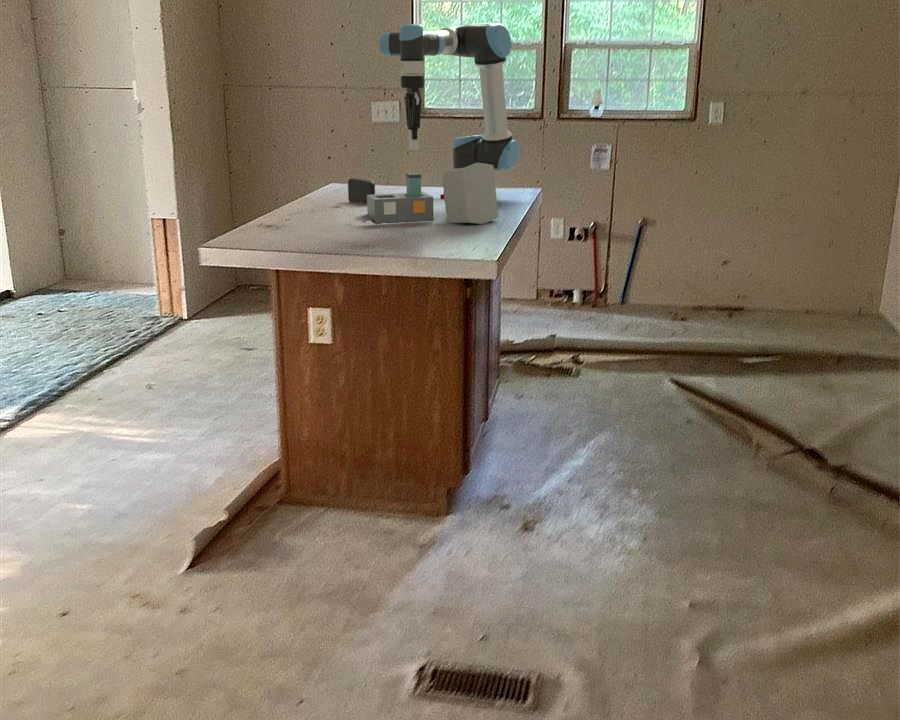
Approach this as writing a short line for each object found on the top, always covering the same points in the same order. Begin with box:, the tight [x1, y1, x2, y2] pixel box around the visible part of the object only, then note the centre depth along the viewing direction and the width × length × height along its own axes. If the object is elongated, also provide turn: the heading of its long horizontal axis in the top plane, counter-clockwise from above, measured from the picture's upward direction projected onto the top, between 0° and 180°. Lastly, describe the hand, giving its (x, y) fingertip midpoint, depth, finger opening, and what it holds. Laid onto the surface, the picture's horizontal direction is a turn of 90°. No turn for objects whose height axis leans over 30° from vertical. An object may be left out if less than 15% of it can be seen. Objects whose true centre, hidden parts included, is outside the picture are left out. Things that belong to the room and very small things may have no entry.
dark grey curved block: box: [347, 177, 376, 204], centre depth 331 cm, size 16×5×9 cm, turn 39°
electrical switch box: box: [439, 163, 499, 225], centre depth 297 cm, size 14×15×20 cm
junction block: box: [366, 191, 434, 225], centre depth 301 cm, size 20×12×8 cm, turn 107°
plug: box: [405, 172, 422, 197], centre depth 301 cm, size 4×4×14 cm
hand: (413, 149), depth 296 cm, fingers closed
